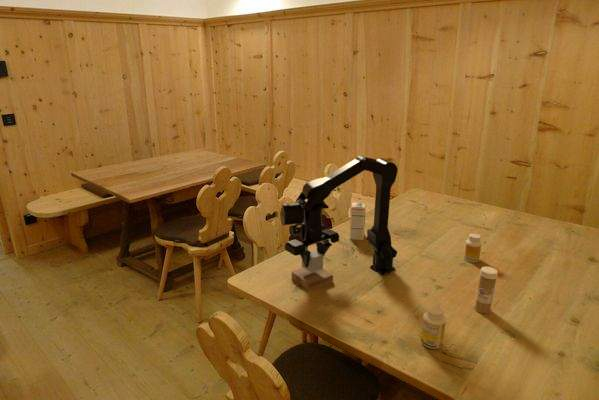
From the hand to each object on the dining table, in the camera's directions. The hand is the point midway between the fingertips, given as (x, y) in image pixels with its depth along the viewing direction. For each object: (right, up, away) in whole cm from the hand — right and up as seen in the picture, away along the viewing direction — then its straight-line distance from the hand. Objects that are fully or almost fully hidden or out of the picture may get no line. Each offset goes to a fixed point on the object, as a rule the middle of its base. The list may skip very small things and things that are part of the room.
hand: (312, 264), depth 135 cm
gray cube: (0, -1, 0) cm, 1 cm away
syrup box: (+20, +6, +35) cm, 41 cm away
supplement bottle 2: (+60, -1, +16) cm, 62 cm away
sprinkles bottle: (+50, -11, -14) cm, 54 cm away
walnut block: (0, -6, +2) cm, 6 cm away
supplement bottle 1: (+30, -16, -28) cm, 45 cm away
